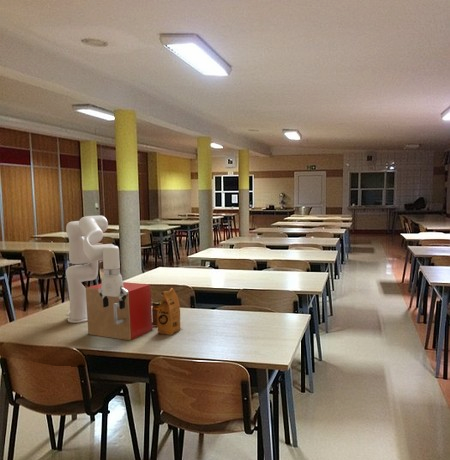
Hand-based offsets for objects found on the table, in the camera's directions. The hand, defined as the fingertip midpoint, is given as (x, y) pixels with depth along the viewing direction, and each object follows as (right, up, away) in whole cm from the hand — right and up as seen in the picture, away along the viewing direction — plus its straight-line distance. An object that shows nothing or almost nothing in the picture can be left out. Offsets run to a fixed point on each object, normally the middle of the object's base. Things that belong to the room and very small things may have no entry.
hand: (114, 307), depth 231 cm
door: (-7, -17, +11) cm, 21 cm away
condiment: (+15, -13, +35) cm, 41 cm away
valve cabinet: (-1, -15, +22) cm, 27 cm away
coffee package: (+24, -15, +21) cm, 35 cm away
